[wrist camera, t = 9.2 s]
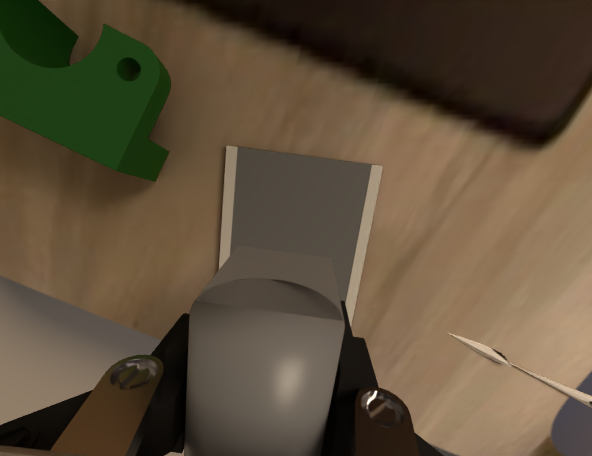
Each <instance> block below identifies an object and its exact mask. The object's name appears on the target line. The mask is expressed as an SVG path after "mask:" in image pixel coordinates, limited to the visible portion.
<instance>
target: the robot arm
mask: <svg viewBox="0 0 592 456" xmlns="http://www.w3.org/2000/svg"><path fill="white" fill-rule="evenodd" d="M340 302H341V307H342V312H343V317H344V323H345V329H344V335H343V340H342V345H341V351H340V356H339V361H338V366H337V371H336V377H335V382H334V387H333V392H332V397H331V403H330V408H329V413H328V418H327V424H326V429H325V434H324V439H323V444H322V450H321V455H320V456H443V455H442V454H441V453H440V452H438V451H437V450H436V449H435V448H433V447H432V446H431V445H430V444H428V443H427V442H426V441H425V440H423V439H422V438H421V437H420V436H418V435H417V434H416V433H414V429H413V424H412V420H411V415H410V413H409V410H408V408H407V406H406V405H405V404H404V402H403V401H402V400H401V399H400V398H398V397H397V396H396V395H395V394H393V393H391V392H389V391H387V390H385V389H382V388H379V387H378V383H377V380H376V376H375V373H374V370H373V366H372V363H371V359H370V356H369V353H368V349H367V346H366V342H365V340H364V338H359V337H353V335H352V331H351V326H350V322H349V318H348V313H347V309H346V305H345V301H341V300H340ZM189 317H190V314H186V313H185V314H183V315H182V316H181V317H180V318H179V319H178V321H177V322H176V323H175V325H174V326H173V327H172V328H171V330H170V331H169V332H168V333H167V335H166V336H165V337H164V339H163V340H162V341H161V342H160V344H159V345H158V346H157V347H156V349H155V350H154V351H153V352H152V354H151V355H136V356H132V357H128V358H125V359H123V360H121V361H119V362H117V363H116V364H114V365H112V366H111V367H110V368H109V369H108V370H107V371H106V373H105V374H104V375H103V377H102V378H101V380H100V381H99V382H98V384H97V385H96V387H95V388H94V389H93V390H91V391H89V392H86V393H84V394H81V395H79V396H76V397H73V398H70V399H68V400H65V401H62V402H60V403H57V404H55V405H52V406H49V407H46V408H44V409H41V410H38V411H36V412H33V413H31V414H28V415H25V416H23V417H20V418H17V419H15V420H12V421H9V422H7V423H4V424H2V425H0V456H164V455H166V454H168V453H169V452H176V453H182V452H183V449H184V444H185V419H186V393H187V368H188V342H189Z"/></svg>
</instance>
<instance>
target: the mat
mask: <svg viewBox="0 0 592 456" xmlns="http://www.w3.org/2000/svg"><path fill="white" fill-rule="evenodd" d="M382 169H383V166H380V165H372V164H364V163H357V162H349V161H342V160H334V159H326V158H319V157H311V156H304V155H296V154H288V153H281V152H273V151H266V150H258V149H250V148H243V147H235V146H226V162H225V178H224V194H223V210H222V227H221V243H220V259H219V269H220V268H221V267H222V265H223V264H224V263H225V262H226V260H227V259H228V258H229V256H230V255H231V254H232V253H233V251H234V250H235V249H236V247H237V246H246V247H253V248H260V249H268V250H275V251H282V252H290V253H297V254H304V255H312V256H319V257H327V258H332V263H333V268H334V273H335V278H336V283H337V287H338V292H339V297H340V300H341V301H345V305H346V309H347V313H348V318H349V322H350V326H351V324H352V319H353V314H354V309H355V304H356V299H357V294H358V289H359V284H360V279H361V274H362V269H363V264H364V259H365V254H366V249H367V244H368V239H369V234H370V229H371V224H372V219H373V214H374V209H375V204H376V199H377V194H378V189H379V184H380V179H381V174H382Z"/></svg>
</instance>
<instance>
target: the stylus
mask: <svg viewBox="0 0 592 456" xmlns="http://www.w3.org/2000/svg"><path fill="white" fill-rule="evenodd" d="M449 334H450V333H449ZM450 335H452V336H453V337H455V338H456V339H458V340H459V341H461V342H462V343H464V344H465V345H467V346H468V347H470V348H471V349H473V350H474V351H476V352H478V353H479V354H481V355H483V356H485V357H487V358H489V359H491V360H493V361H495V362H498V363H500V364H504V365H507V366H511V364H512V363H510V362H508V360H507V359H506V358H505V356H503V355H502V353H500V352H498V351H496V350H494V349H492V348H490V347H487V346H485V345H483V344H480V343H478V342H474V341H471V340H468V339H465V338H462V337H459V336H456V335H453V334H450ZM512 365H513V366H515V367H517V368H519V369H521V370H523V371H525V372H527V373H529V374H530V375H532V376H534V377H536V378H538V379H540V380H541V381H543V382H545V383H547V384H549V385H551V386H553V387H554V388H556V389H558V390H560V391H562V392H564V393H566V394H567V395H569V396H571V397H573V398H575V399H576V400H578V401H580V402H582V403H584V404H586V405H588V406H589V407H591V408H592V396H590V395H587V394H585V393H583V392H580V391H578V390H575V389H573V388H570V387H568V386H566V385H563V384H561V383H558V382H556V381H553V380H551V379H549V378H546V377H544V376H541V375H539V374H536V373H534V372H532V371H529V370H527V369H524V368H522V367H520V366H517V365H515V364H512ZM511 367H512V366H511Z"/></svg>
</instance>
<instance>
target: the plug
mask: <svg viewBox="0 0 592 456" xmlns="http://www.w3.org/2000/svg"><path fill="white" fill-rule="evenodd" d="M344 329H345V323H344V317H343V312H342V307H341V302H340V297H339V292H338V287H337V283H336V278H335V273H334V268H333V263H332V258H327V257H319V256H312V255H304V254H297V253H290V252H282V251H275V250H268V249H260V248H253V247H246V246H237V247H236V249H235V250H234V251H233V253H232V254H231V255H230V256H229V258H228V259H227V260H226V262H225V263H224V264H223V265H222V267H221V268H220V269H219V271H218V272H217V273H216V274H215V276H214V277H213V278H212V280H211V281H210V282H209V283H208V285H207V286H206V287H205V289H204V290H203V291H202V293H201V294H200V295H199V296H198V298H197V299H196V300H195V302H194V303H193V305H192V307H191V310H190V317H189V342H188V368H187V393H186V419H185V444H184V456H320V455H321V450H322V444H323V439H324V434H325V429H326V424H327V418H328V413H329V408H330V403H331V397H332V392H333V387H334V382H335V377H336V371H337V366H338V361H339V356H340V351H341V345H342V340H343V335H344Z"/></svg>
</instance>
